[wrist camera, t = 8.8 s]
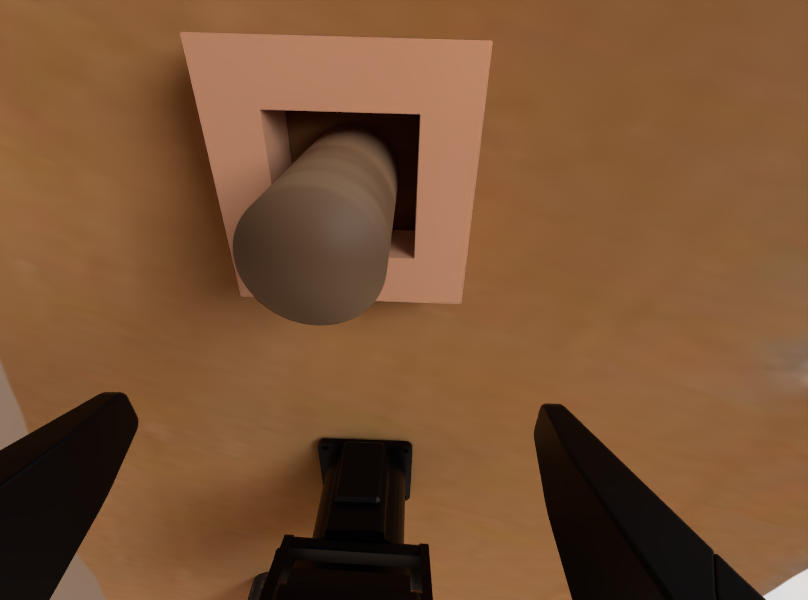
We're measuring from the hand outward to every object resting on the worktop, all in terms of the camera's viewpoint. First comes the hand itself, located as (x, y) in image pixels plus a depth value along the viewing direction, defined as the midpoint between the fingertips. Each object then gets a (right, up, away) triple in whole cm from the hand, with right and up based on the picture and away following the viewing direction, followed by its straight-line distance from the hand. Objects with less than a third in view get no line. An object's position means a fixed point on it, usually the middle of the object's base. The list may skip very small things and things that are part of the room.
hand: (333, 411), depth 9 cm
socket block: (-1, +8, +9) cm, 12 cm away
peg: (-1, +8, +9) cm, 12 cm away
